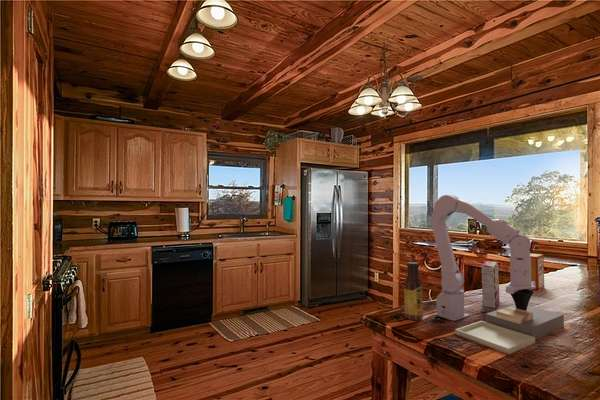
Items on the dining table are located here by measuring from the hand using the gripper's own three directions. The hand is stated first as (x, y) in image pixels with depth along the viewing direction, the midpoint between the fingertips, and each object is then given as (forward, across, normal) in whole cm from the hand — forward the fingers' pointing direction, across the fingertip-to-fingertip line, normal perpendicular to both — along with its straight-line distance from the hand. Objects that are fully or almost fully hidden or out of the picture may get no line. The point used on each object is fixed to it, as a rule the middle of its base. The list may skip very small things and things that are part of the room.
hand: (521, 312), depth 106 cm
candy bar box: (+5, +16, +19) cm, 25 cm away
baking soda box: (+5, +56, +22) cm, 60 cm away
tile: (+1, -5, 0) cm, 5 cm away
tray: (+5, -16, 0) cm, 17 cm away
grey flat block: (+5, +2, 0) cm, 5 cm away
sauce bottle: (+5, -22, +25) cm, 34 cm away
